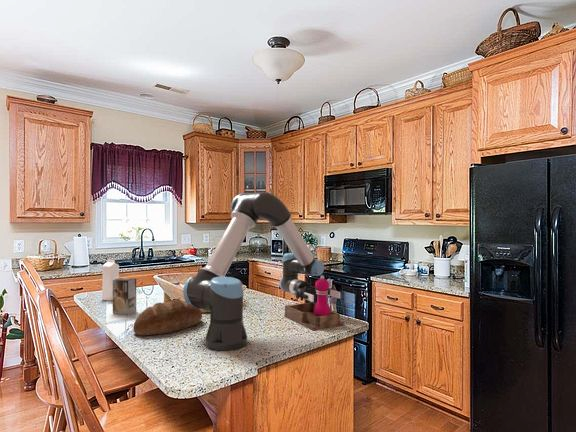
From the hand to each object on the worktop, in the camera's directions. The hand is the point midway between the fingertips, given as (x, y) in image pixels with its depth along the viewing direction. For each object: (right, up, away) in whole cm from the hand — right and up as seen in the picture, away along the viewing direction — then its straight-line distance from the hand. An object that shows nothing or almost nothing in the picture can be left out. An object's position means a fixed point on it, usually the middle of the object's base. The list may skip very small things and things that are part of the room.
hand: (326, 296), depth 155 cm
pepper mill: (-2, -12, +3) cm, 12 cm away
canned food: (-77, -13, +37) cm, 87 cm away
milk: (-115, -13, +50) cm, 126 cm away
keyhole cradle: (-5, -13, +9) cm, 16 cm away
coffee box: (-95, -12, +22) cm, 98 cm away
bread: (-66, -13, -2) cm, 67 cm away
